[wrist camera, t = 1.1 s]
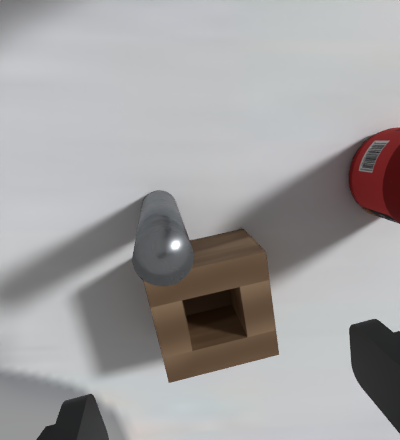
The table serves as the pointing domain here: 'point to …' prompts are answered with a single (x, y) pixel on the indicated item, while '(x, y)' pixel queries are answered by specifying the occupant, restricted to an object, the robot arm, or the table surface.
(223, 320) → the socket block
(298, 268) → the table surface
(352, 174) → the canned food
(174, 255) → the pin
